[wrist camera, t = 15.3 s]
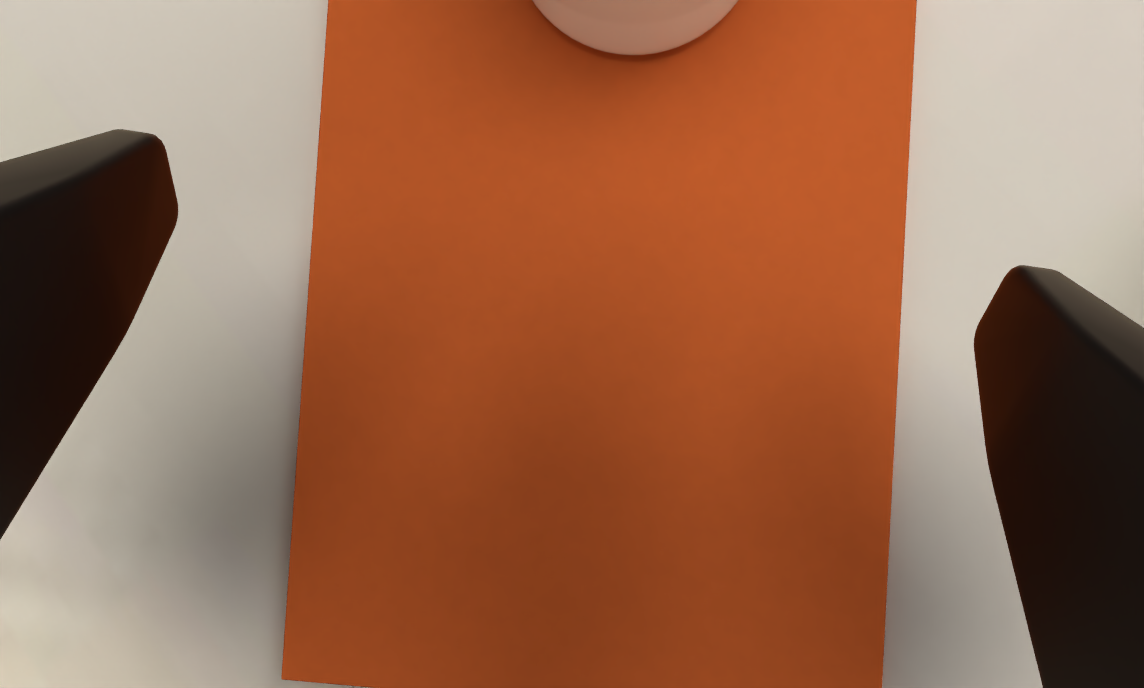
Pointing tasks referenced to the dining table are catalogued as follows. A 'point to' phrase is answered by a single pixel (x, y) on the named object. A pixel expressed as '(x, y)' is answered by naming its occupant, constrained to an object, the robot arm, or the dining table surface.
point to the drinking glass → (634, 22)
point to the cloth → (601, 351)
